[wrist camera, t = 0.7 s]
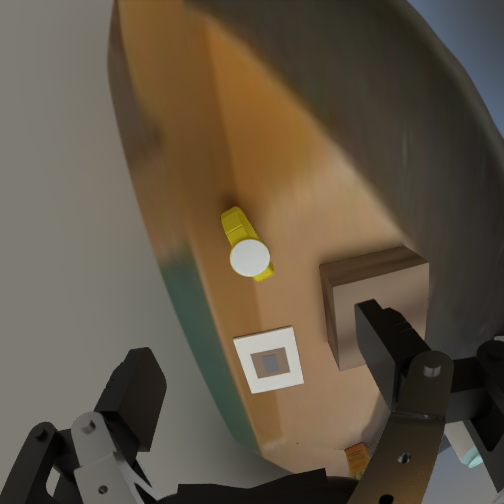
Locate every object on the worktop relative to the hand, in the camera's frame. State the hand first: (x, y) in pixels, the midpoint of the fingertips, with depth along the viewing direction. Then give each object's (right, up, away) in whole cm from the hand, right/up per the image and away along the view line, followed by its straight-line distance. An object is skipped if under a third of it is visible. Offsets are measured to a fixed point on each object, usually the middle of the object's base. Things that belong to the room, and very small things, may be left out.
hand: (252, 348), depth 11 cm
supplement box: (+16, -27, +27) cm, 41 cm away
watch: (0, +5, +16) cm, 16 cm away
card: (+2, -8, +20) cm, 21 cm away
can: (+33, -22, +25) cm, 47 cm away
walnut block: (+11, -1, +18) cm, 21 cm away
